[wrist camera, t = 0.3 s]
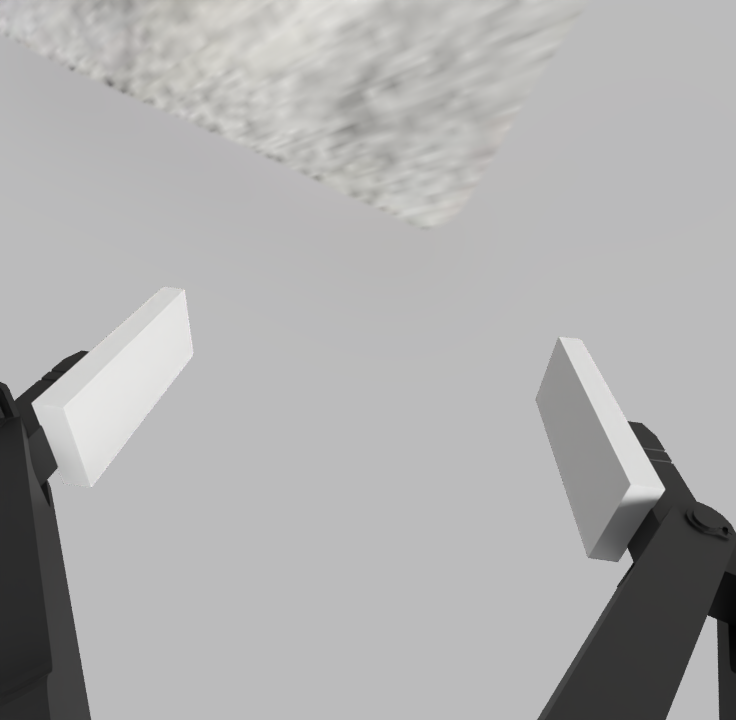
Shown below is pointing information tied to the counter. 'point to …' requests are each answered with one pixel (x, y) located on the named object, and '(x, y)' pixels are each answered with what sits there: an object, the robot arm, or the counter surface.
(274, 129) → the counter surface
